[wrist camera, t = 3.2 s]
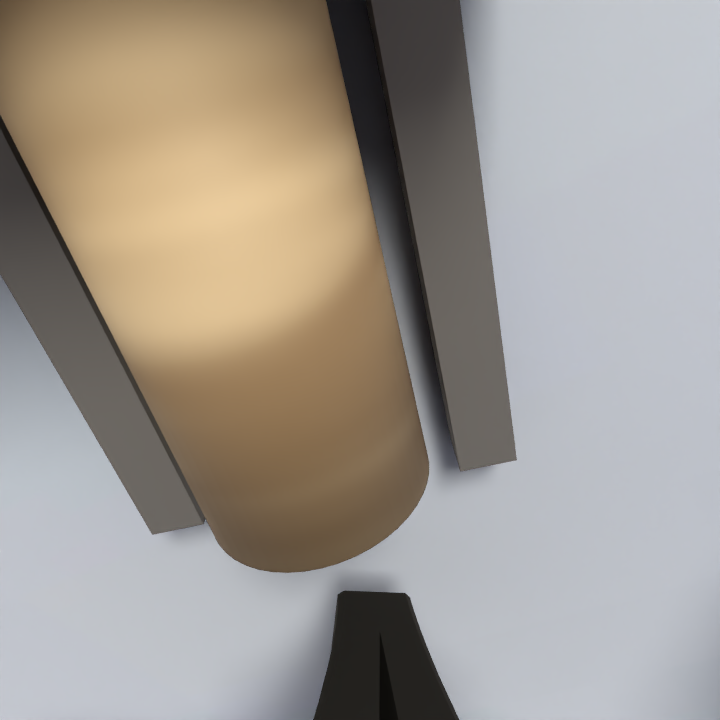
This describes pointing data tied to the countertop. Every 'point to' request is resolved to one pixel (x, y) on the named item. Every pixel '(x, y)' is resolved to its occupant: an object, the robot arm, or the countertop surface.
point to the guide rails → (430, 242)
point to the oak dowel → (228, 255)
